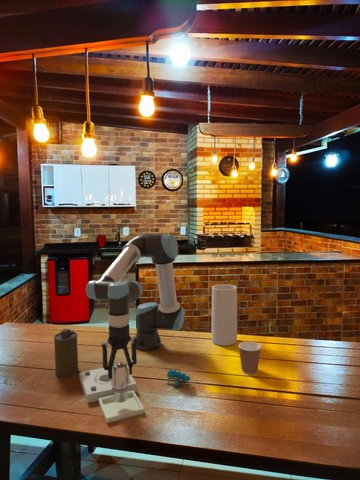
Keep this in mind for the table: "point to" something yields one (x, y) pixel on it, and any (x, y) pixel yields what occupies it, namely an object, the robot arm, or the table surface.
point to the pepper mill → (120, 382)
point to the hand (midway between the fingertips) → (120, 384)
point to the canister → (66, 353)
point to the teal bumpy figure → (178, 376)
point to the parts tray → (121, 407)
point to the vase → (224, 314)
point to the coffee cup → (249, 356)
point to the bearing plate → (99, 384)
